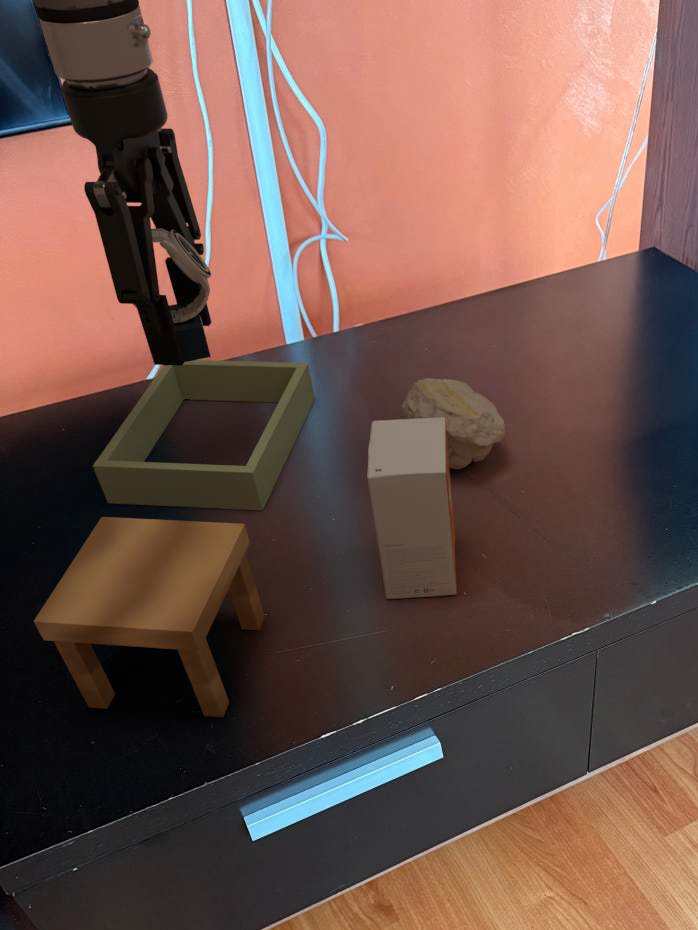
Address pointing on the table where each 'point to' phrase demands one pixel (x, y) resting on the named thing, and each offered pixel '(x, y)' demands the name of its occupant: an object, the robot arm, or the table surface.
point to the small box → (412, 506)
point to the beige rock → (457, 417)
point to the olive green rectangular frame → (203, 483)
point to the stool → (151, 599)
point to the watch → (188, 312)
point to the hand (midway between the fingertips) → (183, 342)
